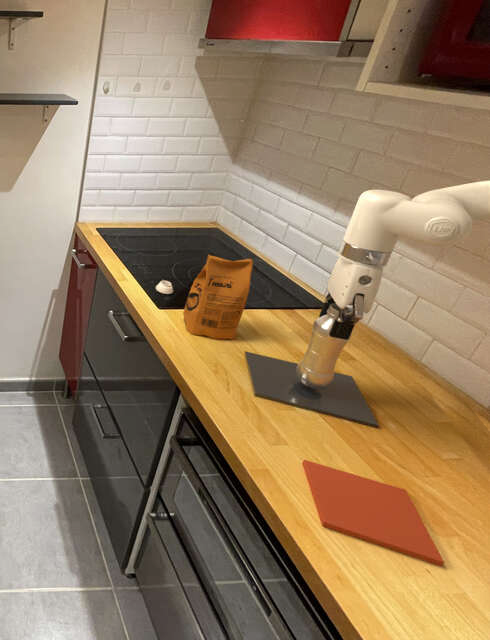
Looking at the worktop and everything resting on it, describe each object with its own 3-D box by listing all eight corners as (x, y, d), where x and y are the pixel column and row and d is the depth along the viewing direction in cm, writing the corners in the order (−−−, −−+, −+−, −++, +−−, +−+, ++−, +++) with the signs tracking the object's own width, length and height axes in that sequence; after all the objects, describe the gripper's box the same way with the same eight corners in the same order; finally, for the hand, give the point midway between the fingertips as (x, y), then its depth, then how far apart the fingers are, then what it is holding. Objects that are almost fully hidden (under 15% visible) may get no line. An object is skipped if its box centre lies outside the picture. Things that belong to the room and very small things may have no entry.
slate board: (350, 378, 105) (352, 376, 105) (377, 428, 92) (379, 425, 91) (244, 353, 113) (245, 351, 113) (254, 395, 99) (255, 393, 99)
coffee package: (178, 315, 128) (197, 246, 119) (226, 322, 125) (249, 252, 116) (186, 335, 119) (206, 262, 110) (237, 343, 117) (262, 269, 108)
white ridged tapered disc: (160, 295, 138) (175, 294, 139) (162, 287, 137) (177, 286, 137) (152, 287, 143) (167, 286, 143) (154, 279, 141) (169, 278, 142)
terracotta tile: (403, 493, 78) (406, 489, 78) (441, 566, 67) (444, 562, 67) (302, 463, 84) (303, 459, 83) (321, 526, 73) (324, 522, 72)
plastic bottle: (312, 395, 97) (344, 319, 89) (285, 375, 103) (313, 301, 95) (336, 391, 99) (370, 315, 91) (308, 371, 105) (338, 298, 97)
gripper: (408, 275, 79) (370, 356, 86) (370, 239, 94) (341, 311, 101) (355, 267, 82) (323, 347, 89) (327, 234, 96) (301, 304, 104)
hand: (333, 327), depth 95 cm, fingers closed on plastic bottle, 6 cm apart
